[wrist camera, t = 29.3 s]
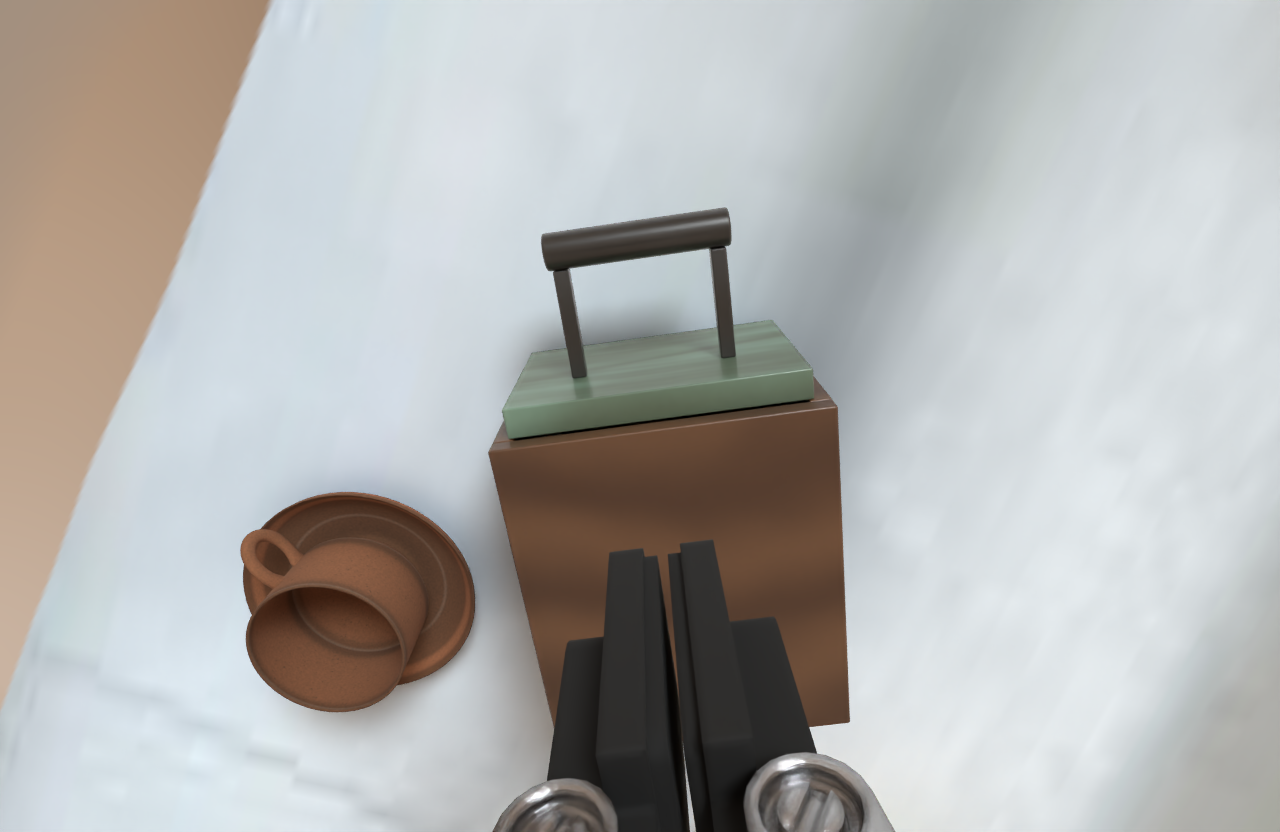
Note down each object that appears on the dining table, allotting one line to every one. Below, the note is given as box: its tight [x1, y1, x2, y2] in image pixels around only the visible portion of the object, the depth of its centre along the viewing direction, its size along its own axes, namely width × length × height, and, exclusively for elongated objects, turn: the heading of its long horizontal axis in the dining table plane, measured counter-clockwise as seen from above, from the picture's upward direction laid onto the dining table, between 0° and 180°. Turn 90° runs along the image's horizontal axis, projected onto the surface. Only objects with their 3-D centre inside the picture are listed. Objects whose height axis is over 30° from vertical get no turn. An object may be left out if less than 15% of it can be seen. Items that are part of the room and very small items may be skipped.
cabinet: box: [488, 376, 850, 740], centre depth 31 cm, size 15×13×10 cm
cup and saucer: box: [241, 492, 475, 712], centre depth 35 cm, size 12×12×6 cm
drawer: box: [502, 208, 814, 439], centre depth 30 cm, size 19×11×8 cm, turn 8°
